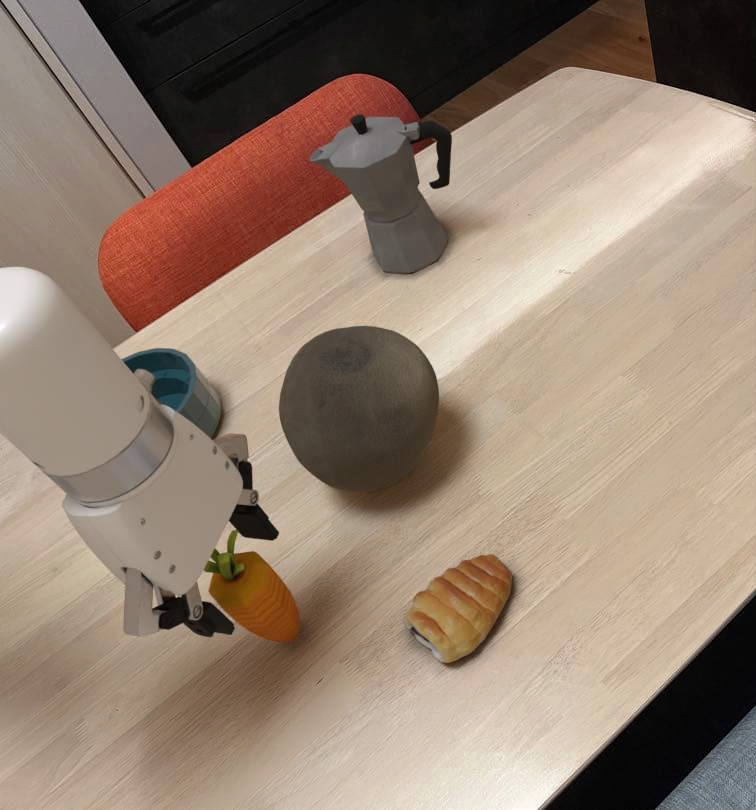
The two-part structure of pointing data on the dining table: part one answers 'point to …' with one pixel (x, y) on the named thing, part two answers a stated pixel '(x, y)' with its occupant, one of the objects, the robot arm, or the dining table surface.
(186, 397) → the bowl
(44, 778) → the dining table surface
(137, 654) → the dining table surface
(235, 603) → the carrot
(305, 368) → the brown coconut
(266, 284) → the dining table surface
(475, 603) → the pastry
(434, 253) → the coffeepot
